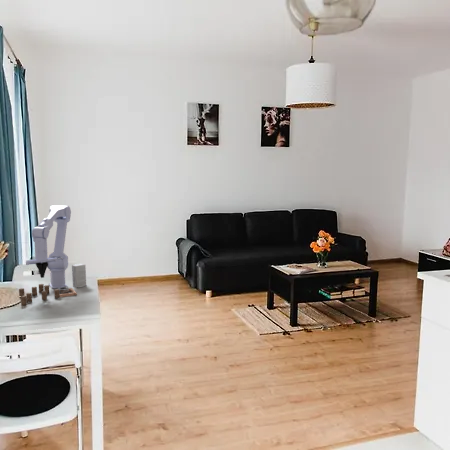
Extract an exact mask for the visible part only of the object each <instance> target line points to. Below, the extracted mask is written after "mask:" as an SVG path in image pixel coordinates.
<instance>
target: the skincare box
mask: <svg viewBox="0 0 450 450" xmlns="http://www.w3.org/2000/svg"><path fill="white" fill-rule="evenodd" d="M86 269H87V267H86V264H84V263H76V264H72V265H71V270H72V271H71V273H72V274H71V275H72V277H71V278H72V286H73V287H74V288H75V289H77V287H78V288H81V286H82V287H86V286H87V273H86Z"/></svg>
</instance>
